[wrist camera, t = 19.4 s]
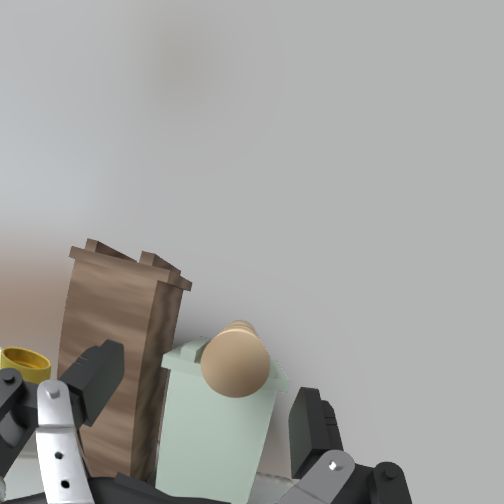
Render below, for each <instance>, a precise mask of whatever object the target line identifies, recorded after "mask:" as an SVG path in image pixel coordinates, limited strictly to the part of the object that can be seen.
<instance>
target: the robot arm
mask: <svg viewBox="0 0 504 504" xmlns="http://www.w3.org/2000/svg"><path fill="white" fill-rule="evenodd" d="M124 372H125V364H124V345H123V344H122V343H119V342H116V341H113V340H110V339H107V340H106V341H105V342H104V343H103V344H102V345H101V346H100V347H99V346H96V345H95V346H93V347H90V348H88V349H86V350H85V351H84V352H83V353H82V354H81V355H80V357H79V358H78V359H77V360H76V361H75V362H74V363H73V364H72V365H71V366H70V367H69V368H68V369H67V370H66V371H65V372H64V373H63V374H62V375H61V376H60V378H59V379H58V380H55V379H49V380H45V381H43V382H42V383H40V384H35V383H31V382H27V381H24V380H23V377H22V374H21V373H20V372H19V371H18V370H17V369H14V368H3V369H1V370H0V504H231V503H230V502H224V501H218V500H212V499H207V498H201V497H176V496H170V495H168V494H166V493H164V492H162V491H160V490H158V489H156V488H155V487H153V486H151V485H149V484H148V483H146V482H144V481H141V480H138V479H135V478H133V477H130V476H127V475H125V474H122V473H120V472H118V473H117V475H116V477H115V478H114V477H93V475H92V473H91V470H90V467H89V464H88V461H87V457H86V453H85V450H84V446H83V442H82V438H81V433H80V430H79V429H80V427H81V426H82V424H84V425H86V426H88V427H92V425H93V424H94V422H95V421H96V419H97V418H98V416H99V415H100V413H101V412H102V410H103V409H104V407H105V405H106V404H107V402H108V401H109V399H110V398H111V396H112V395H113V393H114V392H115V390H116V389H117V387H118V386H119V384H120V383H121V381H122V379H123V377H124ZM6 414H7V415H6ZM5 415H6V416H5ZM2 419H3V420H2ZM1 420H2V421H1ZM35 429H36V439H37V448H38V455H39V462H40V468H41V474H42V479H43V484H44V489H45V492H42V493H39V494H35V495H31V496H26V497H22V498H17V499H12V500H7V501H4V498H5V497H6V493H5V492H6V485H5V482H4V480H3V479H4V477H5V475H6V474H7V472H8V470H9V469H10V467H11V466H12V464H13V462H14V461H15V459H16V458H17V456H18V455H19V453H20V451H21V450H22V448H23V447H24V445H25V444H26V442H27V441H28V439H29V438H30V436H31V435H32V434H33V432H34V431H35ZM289 438H290V453H291V471H292V472H291V473H292V479H300V481H299V482H298V483H297V484H296V485H294V486H293V487H292V488H291V489H290V490H289V491H288V492H287V493H286V494H285V495H284V496H283V497H282V498H281V499H280V500H279V501H278V502H277V503H276V504H412V501H411V497H410V494H409V490H408V487H407V483H406V480H405V476H404V473H403V471H402V469H401V468H400V467H399V466H398V465H396V464H395V463H392V462H382V463H379V464H378V465H377V466H376V467H375V468H372V467H367V466H363V465H359V464H356V463H355V462H354V460H353V458H352V457H351V456H350V455H349V454H347V453H346V452H344V450H343V446H342V442H341V437H340V433H339V429H338V426H337V421H336V419H335V413H334V409H333V408H332V406H331V405H330V404H329V402H328V401H324V400H321V398H320V393H319V390H318V389H314V388H307V387H301V388H300V390H299V392H298V395H297V397H296V399H295V401H294V404H293V406H292V408H291V411H290V414H289Z"/></svg>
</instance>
